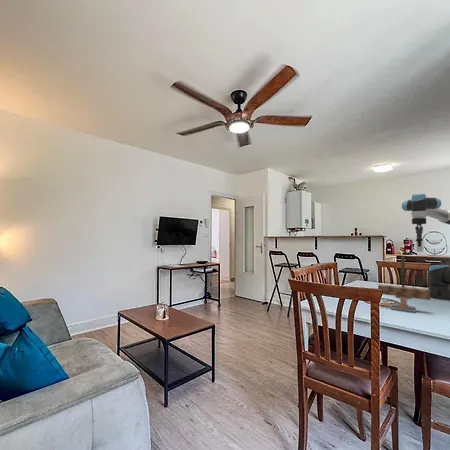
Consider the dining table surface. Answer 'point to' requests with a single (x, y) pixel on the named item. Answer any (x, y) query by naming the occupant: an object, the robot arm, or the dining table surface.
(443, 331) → the dining table surface
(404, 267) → the candlestick holder
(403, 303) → the fulcrum
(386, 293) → the bar
